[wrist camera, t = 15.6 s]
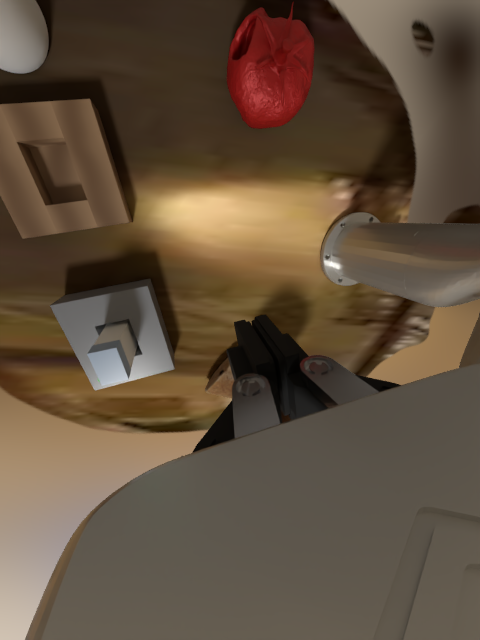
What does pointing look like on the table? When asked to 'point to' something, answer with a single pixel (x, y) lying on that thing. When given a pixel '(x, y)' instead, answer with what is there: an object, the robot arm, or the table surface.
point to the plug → (114, 352)
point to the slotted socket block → (58, 168)
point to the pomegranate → (270, 68)
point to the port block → (111, 306)
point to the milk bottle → (22, 36)
